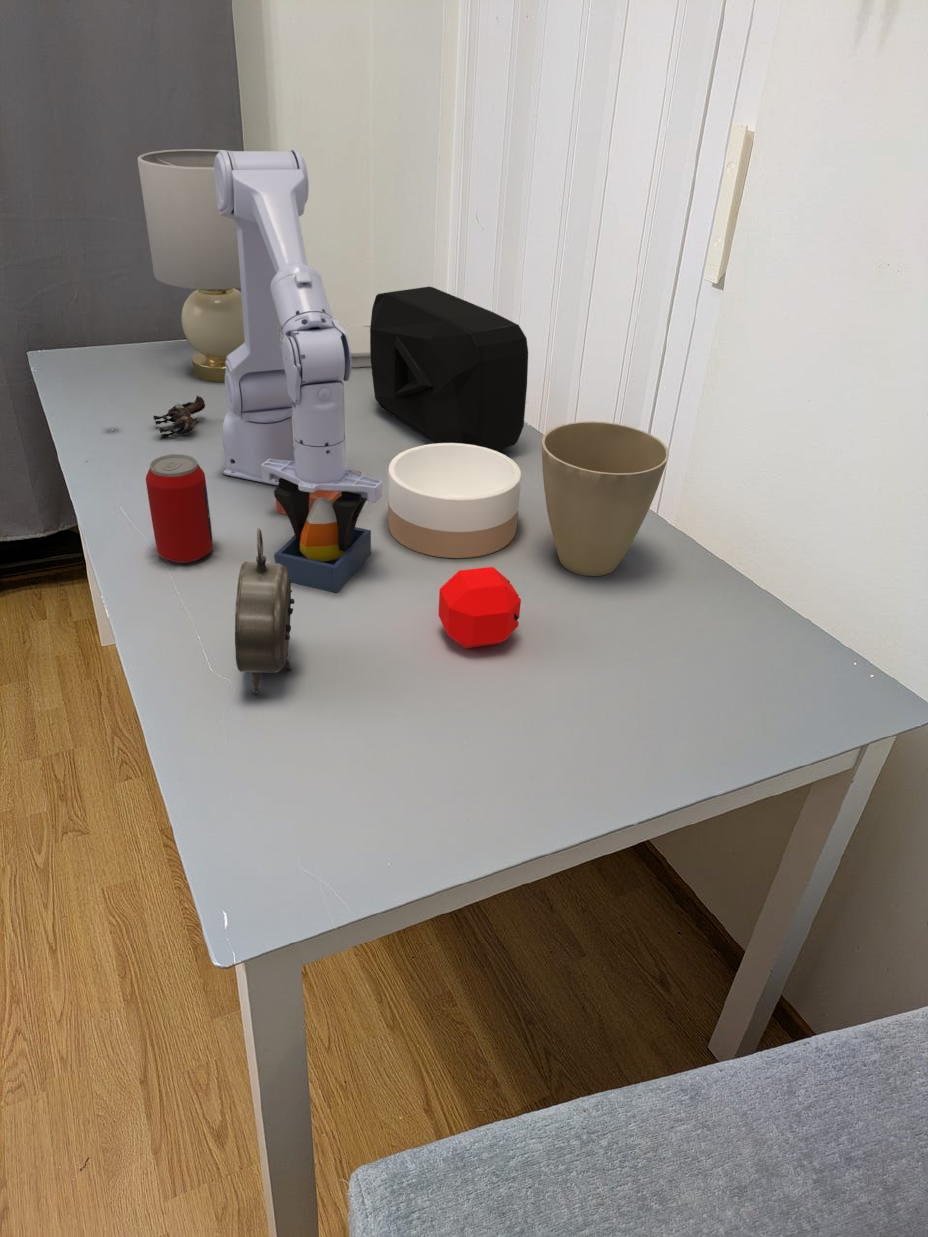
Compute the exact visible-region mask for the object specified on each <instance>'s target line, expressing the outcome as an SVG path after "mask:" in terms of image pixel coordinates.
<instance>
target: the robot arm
mask: <svg viewBox="0 0 928 1237" xmlns="http://www.w3.org/2000/svg"><path fill="white" fill-rule="evenodd" d="M219 150H220V151H219V152H218V154H217V155H216V157H215V164H214V172H215V185H216V197H217V206H218V210H219V212H220V215H221V216H223V217H227V218H230V219H233V221H234V224H235V227H236V230H237V238H238V252H239V267H240V281H241V288H240V292H241V295H242V310H243V324H244V338H245V342H244V343H243V344H242V345H241V346H240V347H238V348H237V349H236V350H234V351H233V352H232V353H230V354H229V355H228V356H227V357H226V361H225V368H226V373H225V382H224V390H225V396H226V400H227V404H228V405H227V406H228V407H229V410H228V411H227V413H226V415H225V416H224V418H223V422H222V423H223V424H222V442H223V452H224V460H225V469H224V470H223V475H225V476H228V477H229V476H230V477H235V478H240V479H244V480H249V481H254V482H257V483H258V482H259V483H264V484H268V485H273V486H277V487H276V488H275V489H274V490H273V495H274V496H273V497H274V499H275V500H276V499H277V500H278V502H279V503H280V504H281V506H282V507H283V509H284V510H285V512H286V514H287V515H286V514H285V515H286V516H287V517H288V520H289V522H290V524H291V528H292V530H293V534H294V535H295V536H296V539H297V541H299V542H300V539H301V533H302V530H303V527H304V525H305V522H306V519H307V517H308V514H309V497H310V493H314V492H316V491H317V490H324V491H334V492H339V493H341V497H339V498H338V499H337V500H336V501H335V502H334V503H333V509H334V512H335V515H336V520H337V526H338V546H339V550H340V551H346V550H347V548H348V547H349V546H350V545H351V543H352V537H353V533H354V529H355V527H356V525H357V522H358V519H359V516H360V514H361V512H362V510H363V508H364V506H365V504H366V502H371V503H375V504H376V503H377V502H378V501H379V500H380V499H381V497H383V481H382V480H380V479H375V478H372V477H370V476H367V475H364V474H363V473H361V474H360V473H358V472H355V471H356V470H355V471H353V470H354V469H350V468H348V467H347V460H346V459H347V458H346V457H347V456H346V417H345V416H346V415H345V383H344V382H343V381H345V382H348V381H349V380H350V378H351V376H352V367H351V352H350V346H349V342H348V338H347V334H346V332H345V330H344V328H343V327H342V326H343V325H341V323H340V320H339V319H338V318H334V316H333V314H332V309H331V307H330V303H329V299H328V296H327V293H326V289H325V285H324V282H323V279H322V276H321V274H320V273H319V272H318V270H316V269H314V268H313V267H311V266H308V261H307V254H306V248H305V244H304V239H303V233H302V232H303V231H302V228H301V223H300V222H301V221H300V217H301V216H303V215H304V214H305V213H304V212H305V207H306V204H307V203H308V200H309V192H310V190H309V189H310V188H309V187H310V186H309V185H310V184H309V183H310V182H309V174H308V167H307V164H306V161H305V158H304V157H303V155H302V154H301V152H300V151H299V150H297V149H290V150H274V151H273V150H247V151H245V150H241V151H240V150H236V151H235V150H225V149H219ZM226 151H227V152H226ZM280 331H281V335H282V342H281V337H280Z"/></svg>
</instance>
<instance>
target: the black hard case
mask: <svg viewBox="0 0 928 1237" xmlns="http://www.w3.org/2000/svg"><path fill="white" fill-rule="evenodd" d="M369 327H370V359H371V375H372V376H371V377H372V385H373V392H374V393H373V394H374V399H375V400H376V402H377V403H378V406H379V408H380V409H382V410H383V411H385V412H386V413H388V414H389V415H391V416H392V417H394V418H395V419H397V420H398V421H400V422H402V424H404V425H406V426H407V427H409V428H410V429H412V430H413V431H415V432H416V433H417V434H419V435H421V436H423V437H425V438H426V439H428V440H430V441H431V442H433V443H434V444H436V443H461V444H469V445H476V446H480V447H485V448H488V449H491V450H495V451H497V452H498V451H500V450H504V449H508V448H510V447H512V446H515V445H516V444H518V442H519V439H520V436H521V434H522V431H523V429H524V426H525V417H526V416H525V415H526V414H525V413H526V404H527V402H526V401H527V391H528V374H529V347H528V339H527V337H526V335H525V334H524V331H523V329H522V328H521V326H520V325H519V324H518V323H516V322H514V321H512V320H510V319H508V318H506V317H504V316H502V315H500V314H498V313H496V312H494V311H492V310H490V309H487V308H484V307H482V306H479V305H477V304H474V303H472V302H470V301H468V300H465V299H462V298H460V297H458V296H455V295H453V294H450V293H448V292H445V291H443V290H440V289H438V288H436V287H433V286H423V287H416V288H409V289H402V290H401V289H400V290H393V291H387V292H380V293H378V294H376V295H375V298H374V301H373V304H372V308H371V317H370V326H369Z"/></svg>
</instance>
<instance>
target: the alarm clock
mask: <svg viewBox="0 0 928 1237" xmlns="http://www.w3.org/2000/svg"><path fill="white" fill-rule="evenodd" d="M256 548H257V556H256V557H255V560H256V562H255V561H244V562H243V563H241V566H240V569H239V574H238V581H237V588H236V598H235V614H234V648H235V663H236V667H237V670H238V671H239V672H240V673H243V672H246V673H247V672H248V673H251V674H252V684H253V685H252V686H253V690H252V692H251V694H252V695H253V696H258V695H259V693H260V692H259V684H260V678H261V674H262V673H271V674H272V673H273V674H275V673H277V672H280V671H281V670H282V669H283V668H284V667H285V665H286V666H287V668H288V669H289V670H293V666H292V665H291V663H290V661H289V659H288V658H289V645H290V644H289V643H290V639H291V635H290V633H291V630H292V625H291V615H293V612H294V608H293V607H292V605H294V604H295V603H296V602H295V599H294V598H292V593H293V589H292V585H291V584H292V582H290V575H289V572H288V570H287V568H286V567H285V566H283V565H282V564H279V563H275V562H266V561H267V557H266V556H265V555H264V541H263V534H262V530H261V528H260V527H259V528H257V529H256Z"/></svg>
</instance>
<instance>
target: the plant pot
mask: <svg viewBox="0 0 928 1237" xmlns="http://www.w3.org/2000/svg"><path fill="white" fill-rule="evenodd" d="M669 456H670V453H669V449H668V447H667V445H666V444H665V443H664V442H663V441H662V440H661V439H659V438H658V437H656V436H655V435H653V434H651V433H649V432H647V431H644V430H641V429H639V428H636V427H632V426H629V425H626V424H621V423H615V422H608V421H607V422H606V421H590V420H589V421H575V422H569V423H563V424H561V425H557V426H555V427H553V428H551V429H549V430H548V431H546V432H545V433H544V434H543V436H542V438H541V462H542V477H543V479H542V480H543V488H544V498H545V503H546V510H547V516H548V521H549V527H550V531H551V535H552V539H553V543H554V546H555V549H556V553H557V557H558V559H559V562H560V564H561V565H562V566H563V568H565V569H566V570H568V571H570V572H572V573H574V574H577V575H581V576H586V577H600V576H601V577H602V576H605V575H609V574H611V573H613V572H614V571H615V570H616V569H617V567H618V566H619V564H620V563H621V562H622V560H623V558H624V557H625V556H626V553H627V552H628V550H629V549H630V547H631V546H632V543H633V542H634V540H635V538H636V537H637V535H638V532H639V530H640V529H641V527H642V524H643V523H644V521H645V519H646V516H647V514H648V512H649V510H650V508H651V505H652V504H653V500H654V498H655V496H656V493H657V490H658V488H659V485H660V482H661V479H662V477H663V474H664V472H665V468H666V466H667V463H668V460H669Z"/></svg>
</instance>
